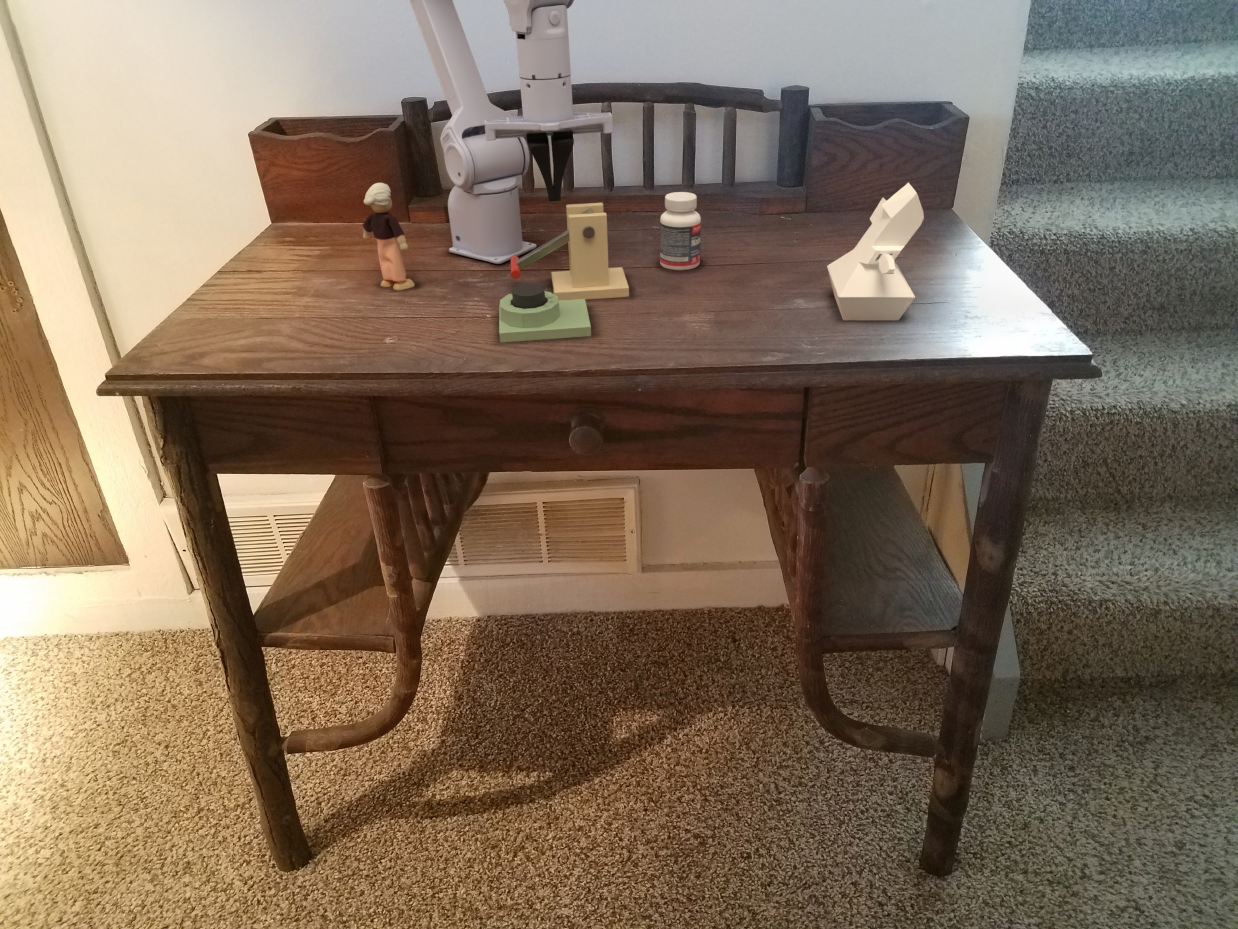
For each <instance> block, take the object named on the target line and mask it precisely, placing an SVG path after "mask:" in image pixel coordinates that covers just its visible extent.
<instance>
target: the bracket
mask: <svg viewBox="0 0 1238 929" xmlns="http://www.w3.org/2000/svg"><path fill="white" fill-rule="evenodd" d="M590 208H592V210H593V212H594V213H590V214H581V213H583V212H585V211H586V210H588V209H590ZM565 209H566V210H565V211H566V212H565V213H566V227H567V230H568V229H569V237H570V241H569V242H567V245H568V247H567V248H568V260H569V261H568V262H569V263H568V264H569V270H560V271H551V272H550V273H551V284H552V291H553V292H552V293H553V294H554V295H556V296H558V301H560V300H575V299H585V300H598V299H599V300H600V299H610V298H611V299H613V298H626V297H630V286H629V284H628V281H627V278H626V274H625V271H624V268H623V267H621V266H620V267H609V242H608V215H607V212H604V203H603V202H588V203H571V204H566V205H565ZM567 230H566V231H567Z"/></svg>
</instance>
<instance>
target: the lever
mask: <svg viewBox="0 0 1238 929" xmlns="http://www.w3.org/2000/svg"><path fill="white" fill-rule="evenodd" d="M590 213H594V212H593V210H592V208H590V209H588V210H586V211H585V212H583V213H581V214H590ZM569 241H570V237H569V229H568V230H565V231H563V232H562V233H560V234H559V235H557V236H555V237H553V238H552V239H550V240H548V241H546V242H545V243H543V244H541V245H540V246H538V247H536V248H535V249H533V250H531V251H529V252H527V253H526V254H524V255H523V256H521V257H519V256H513V257H512V258H511V259H510V276H511V278H512V279H513V280H514V279H516V280H517V279H519V278H520V277H521V271H522V270H523V269H525V268H527V267H528V266H530V265H532V264H534V263H535V262H537V261H539V260H540V259H542V258H544V257H546V256H547V255H549V254H551V253H552V252H554V251H555V250H558V249H559V248H561V247H562V246H565V245H566V244H568V242H569Z"/></svg>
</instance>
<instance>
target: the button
mask: <svg viewBox="0 0 1238 929" xmlns="http://www.w3.org/2000/svg"><path fill="white" fill-rule="evenodd" d="M511 294H512V298H513V306H514V307H516V308H523V309H530V308H537V307H540V306H543V305H545V287H544V286H543V285H541V284H539V283H522V284H519V285H516V286H514V287H513V288H512V289H511Z"/></svg>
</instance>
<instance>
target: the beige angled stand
mask: <svg viewBox="0 0 1238 929" xmlns="http://www.w3.org/2000/svg"><path fill="white" fill-rule="evenodd" d="M924 219H925V214H924V209H923V206H922V204H921V201H920V197H919V195H918V192H917V191H916V189H914V187H913V186H912V184H910V182H907V183H905V185H904V186H902V187H901V188H900V189H899V190H897V191H896V192H895V193H894V194H892V196H890V197H889V198H888V199H886V198H884V197H882V198H881V199H880V201H879V202H878V204H877V206H876V207H875V209H874V211H873V212H872V214H871V216H870V217H869V221H870V222H871V225H870V226H869V227H868V228H867V229H866V232H865V233H864V234H863V235H862V237H861V238H860V240H859V241H858V242H857V244H856V245H855V246H854V248H853V249H851V250H850V251H848V252H846V253H845V254H843V255H842V256H841V257H839V258H837V259H835V260H833V261H832V262H831V263H829V264H828V265H826V268H827V272H828V276H829V281H830V284H831V288H832V292H833V296H834V299H835V302H836V305H837V308H838V310H839V314H840V316H841V318H842V321H900V319H901V318H902V316H903V315H904V314H905V313H906V311H907V310H908V309H909V307H910V306H911V304H912V303H913V301H914V300H915V299H916V296H915V293H914V292H913V290H912V289H911V287H910V285H909V282H908V281H907V280H906V278H905V276H904V274H903V273H902V271H901V269H900V267H899V265H898V264H897V263H896V262H895V260H896V259H897V257H898V256H899V254H900V253H901V252H902V250H903V249H904V248H905V246H906V245H907V244H908V242H909V241H910V240H911V239H912V237H914V235H915V234H916V232H917V231H918V229H920V227H921V226H922V223H923V222H924Z"/></svg>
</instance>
